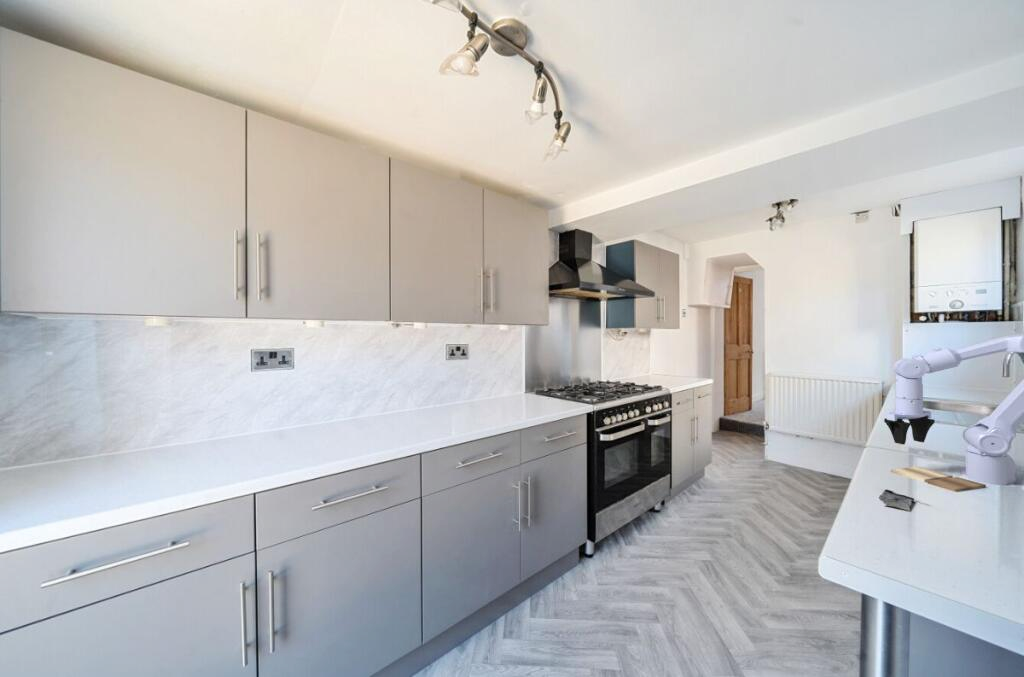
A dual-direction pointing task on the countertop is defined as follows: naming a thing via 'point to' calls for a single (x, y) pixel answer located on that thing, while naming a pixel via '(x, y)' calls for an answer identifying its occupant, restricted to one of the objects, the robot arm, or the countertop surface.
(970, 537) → the countertop surface
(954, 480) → the floor row
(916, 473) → the plank
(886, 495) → the driftwood
